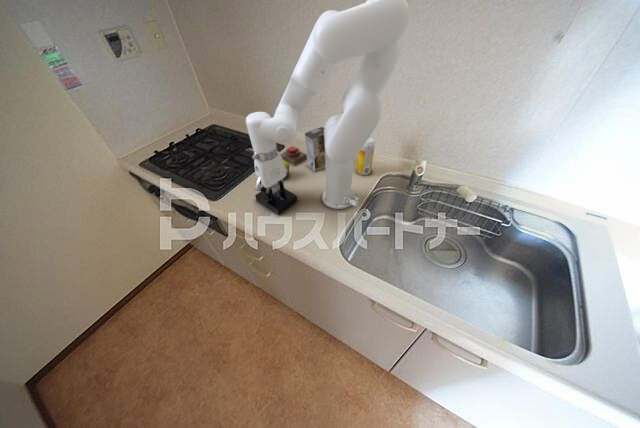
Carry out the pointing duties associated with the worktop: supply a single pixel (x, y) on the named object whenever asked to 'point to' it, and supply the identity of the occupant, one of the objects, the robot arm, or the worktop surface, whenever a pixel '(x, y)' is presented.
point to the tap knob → (275, 191)
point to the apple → (286, 166)
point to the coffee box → (315, 149)
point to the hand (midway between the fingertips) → (275, 194)
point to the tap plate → (277, 201)
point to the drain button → (292, 149)
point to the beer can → (366, 157)
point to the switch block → (293, 156)
